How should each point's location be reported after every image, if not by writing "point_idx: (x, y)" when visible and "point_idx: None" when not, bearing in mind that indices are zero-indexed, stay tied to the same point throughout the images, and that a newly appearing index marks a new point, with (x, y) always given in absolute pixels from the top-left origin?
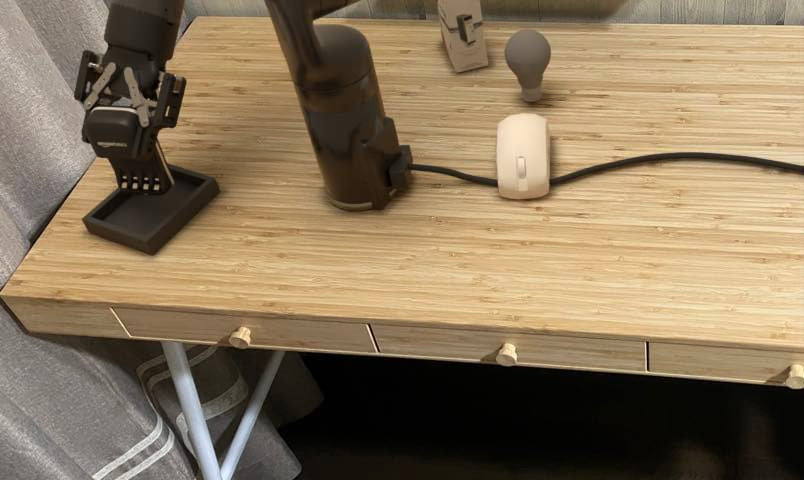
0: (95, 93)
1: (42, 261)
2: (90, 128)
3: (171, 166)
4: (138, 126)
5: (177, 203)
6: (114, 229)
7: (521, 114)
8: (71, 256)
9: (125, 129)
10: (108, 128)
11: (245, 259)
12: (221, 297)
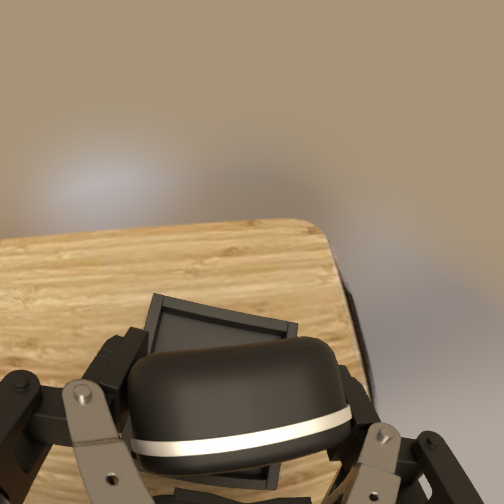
0: (374, 467)
1: (311, 266)
2: (297, 338)
3: (223, 481)
4: (116, 388)
5: None
6: (225, 311)
7: None
8: (279, 281)
9: (150, 356)
10: (221, 347)
11: (27, 311)
12: (40, 244)
